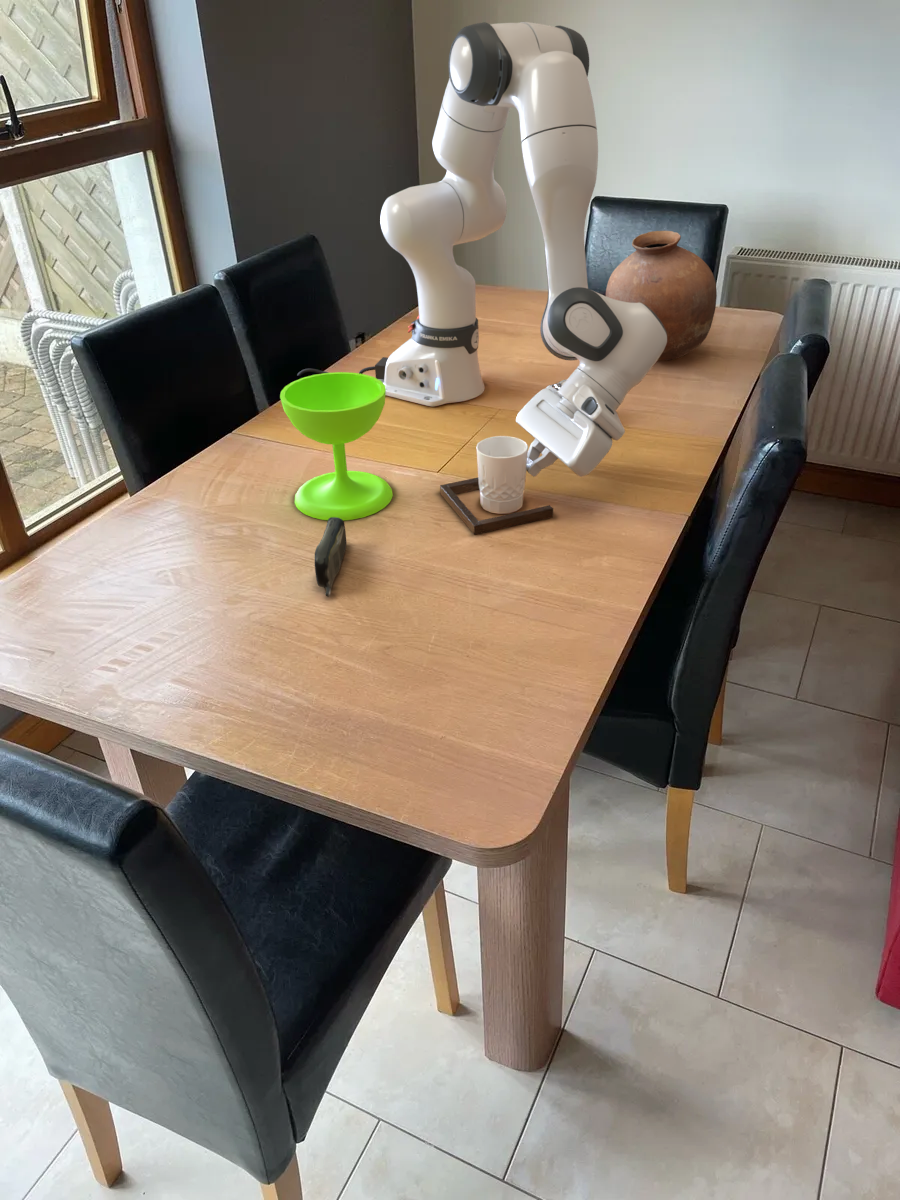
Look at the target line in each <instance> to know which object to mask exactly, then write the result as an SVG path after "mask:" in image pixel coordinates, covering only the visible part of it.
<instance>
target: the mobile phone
mask: <svg viewBox="0 0 900 1200" xmlns="http://www.w3.org/2000/svg"><path fill="white" fill-rule="evenodd" d="M344 521H345V520H342V519H340V518H337V517H331V518H329V519H328V520H327V523H326V526H325V529H324V532H323V535H322V538H321V540H319V543H318V545H317V546H316V548H315V550H314V572H315V579H316V580H315V581H316V584H317V586H318V587H320V588H325V597H327V598H329V597H331V594H332V587H333V583H334V581H335V579H336V576H337V575H338V574H339V572H340V570H341V566H342V562H343V559H344V557H345V553H346V548H347V532H346V525H345V522H344Z"/></svg>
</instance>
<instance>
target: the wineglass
mask: <svg viewBox="0 0 900 1200" xmlns="http://www.w3.org/2000/svg"><path fill="white" fill-rule="evenodd" d="M385 394H386V389H385V385H384V384H383V383H382V381H380V380H378V379H377V378H376V376H373V375H372V376H371V375H368V374H364V373H363V374H359V372H345V371H337V372H329V373H323V374H319V373H316V374H312V375H308V376H304V377H300V378H299V379H296V380H294V381H292V382H290V383H288V384H287V385H285V386H284V387H283V388H282V389H281V391H280V394H279V399H280V402H281V406H282V409H283V412H284V413H285V414H286V416H287V418H288V420H289V421H290V423H291V424H292V427H295V429H296V430H297V431H299V433H301V434H302V435H303V436H305V437H306V438H308V439H310V440H312V441H314V442H317V443H320V444H324V445H331V446H332V454H333V464H334V471H332V472H326V473H323V474H320V475H316V476H314V477H313V478H311V479H309V480H307V481H305V483H304V484H302V485H301V486H300V487H299V488H298V490H297V492H296V493H295V495H294V506H295V507H296V509H297V510H298V511H300V512H301V513H302V514H303V515H305V516H308V517H310V518H313V519H317V520H322V521H328V519H329V518H331V517H337V518H340V519H342V520H343V521H352V520H359V519H362V518H366V517H369V516H372V515H374V514H376V513H378V512H380V511H382V510H383V509H385V508H386V507H387V506H388V505H389V504H390V503H391V501H392V499H393V497H394V495H393V489H392V487H391V486H390V485H389V483H388V481H386V480H385V479H383V478H382V477H380V476H379V475H375V474H374V473H371V472H367V471H361V470H348V465H347V456H346V444H348V443H351V442H355V441H356V440H358V439H360V438H362V437H363V436H365V435H366V434H368V433H369V431H371V430H372V429H373V427H374V426H375V425H376V423H377V422H378V421H379V420H380V418H381V415H382V412H383V411H384V410H383V409H384V408H385V404H386V395H385Z"/></svg>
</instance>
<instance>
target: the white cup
mask: <svg viewBox="0 0 900 1200" xmlns="http://www.w3.org/2000/svg"><path fill="white" fill-rule="evenodd" d="M528 450H529V445H528V444H527V441H524V440H523V439H521V438H519V437H515V436H509V435H495V436H490V437H486V438H484V439H482V440H479V442H477V444H476V465H477V466H476V467H477V478H478V479H479V489H478V490H479V500H480V503H479V504H480V506H481V507H482V509H483V510H484V511H487V512H489V513H492V514H497V515H507V514H512V513H516V512H518V511H519V510H520V509H521V508H523V503H524V494H525V493H524V492H525V489H526V481H527V480H526V479H527V471H526V468H527V454H528Z"/></svg>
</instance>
